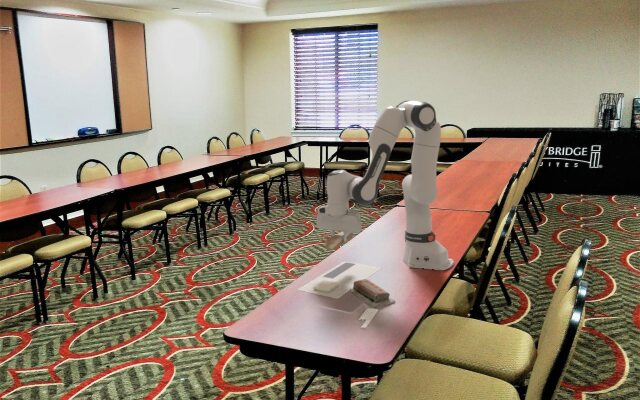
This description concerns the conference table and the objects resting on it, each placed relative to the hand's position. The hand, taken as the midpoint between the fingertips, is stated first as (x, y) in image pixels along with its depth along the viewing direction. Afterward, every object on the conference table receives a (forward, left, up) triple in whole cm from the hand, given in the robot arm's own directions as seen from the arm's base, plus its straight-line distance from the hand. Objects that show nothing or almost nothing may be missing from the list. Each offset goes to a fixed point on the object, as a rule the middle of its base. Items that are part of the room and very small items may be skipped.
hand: (339, 240), depth 222 cm
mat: (-4, +6, -15) cm, 16 cm away
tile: (-4, +14, -14) cm, 20 cm away
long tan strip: (0, 0, -2) cm, 2 cm away
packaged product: (-23, +17, -15) cm, 33 cm away
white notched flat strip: (-30, +34, -15) cm, 48 cm away
